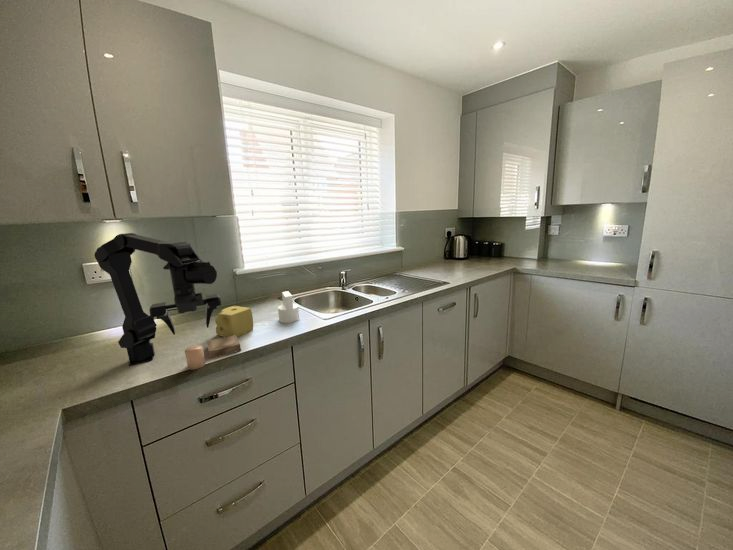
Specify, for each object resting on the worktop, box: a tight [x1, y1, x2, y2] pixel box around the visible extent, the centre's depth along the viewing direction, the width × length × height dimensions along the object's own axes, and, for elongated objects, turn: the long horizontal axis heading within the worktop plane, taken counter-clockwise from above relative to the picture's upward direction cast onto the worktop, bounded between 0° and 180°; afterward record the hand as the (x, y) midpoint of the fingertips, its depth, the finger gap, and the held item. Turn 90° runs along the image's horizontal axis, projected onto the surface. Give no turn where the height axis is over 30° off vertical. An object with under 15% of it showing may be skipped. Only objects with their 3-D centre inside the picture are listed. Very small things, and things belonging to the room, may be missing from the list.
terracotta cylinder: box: [184, 344, 206, 371], centre depth 96 cm, size 5×5×6 cm
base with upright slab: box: [277, 290, 300, 324], centre depth 134 cm, size 9×9×12 cm
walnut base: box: [206, 335, 242, 359], centre depth 107 cm, size 10×10×3 cm
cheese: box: [214, 305, 254, 338], centre depth 121 cm, size 10×11×10 cm
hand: (191, 330), depth 94 cm, fingers open, 9 cm apart
